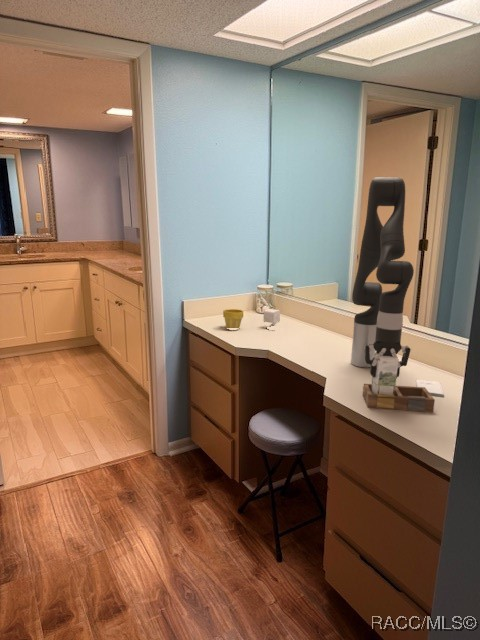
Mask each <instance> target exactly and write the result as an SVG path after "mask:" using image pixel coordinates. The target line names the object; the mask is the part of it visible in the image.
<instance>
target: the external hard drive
mask: <svg viewBox="0 0 480 640" xmlns="http://www.w3.org/2000/svg"><path fill="white" fill-rule="evenodd" d="M415 385H416V386H415V387H425V388H426V389H427V391H428V392H429V393H430V394H431V396H432V397H433V396H434V397H440V398H445V394H444V391H443V387H442V385H441V382H439V381H433V380H424V379H416V380H415Z"/></svg>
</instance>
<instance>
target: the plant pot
mask: <svg viewBox="0 0 480 640" xmlns="http://www.w3.org/2000/svg"><path fill="white" fill-rule="evenodd" d="M222 316H223V318H224V322H225V328H226V327H227V328H239V327H240V328H241V325H242V320H243V318H244V310H242V309H237V308H230V309H229V308H227V309H224V310H223V313H222ZM240 328H239V329H240Z"/></svg>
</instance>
